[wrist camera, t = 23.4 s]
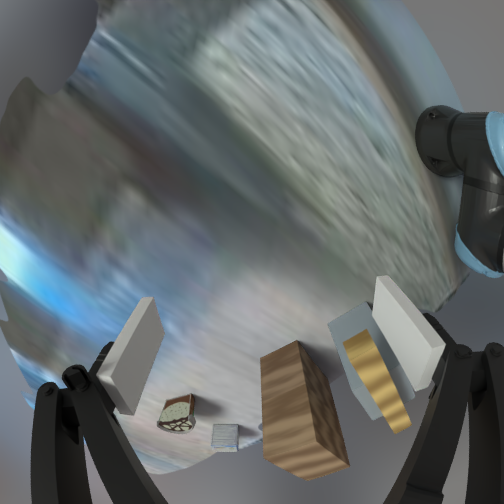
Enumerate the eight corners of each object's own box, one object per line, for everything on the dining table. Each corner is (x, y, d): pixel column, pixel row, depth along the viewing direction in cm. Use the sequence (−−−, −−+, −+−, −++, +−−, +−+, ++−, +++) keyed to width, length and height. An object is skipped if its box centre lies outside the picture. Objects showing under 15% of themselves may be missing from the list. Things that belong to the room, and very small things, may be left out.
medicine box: (215, 430, 77) (213, 451, 69) (212, 423, 76) (210, 445, 67) (239, 430, 77) (238, 452, 69) (237, 423, 75) (236, 445, 67)
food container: (175, 411, 73) (169, 437, 64) (162, 400, 71) (155, 426, 62) (207, 403, 71) (204, 431, 62) (195, 391, 69) (189, 419, 60)
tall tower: (260, 358, 64) (263, 458, 38) (296, 340, 62) (316, 441, 36) (295, 394, 70) (307, 480, 44) (327, 379, 68) (350, 466, 42)
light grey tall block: (327, 323, 60) (351, 391, 41) (365, 301, 58) (403, 362, 39) (349, 358, 65) (372, 420, 46) (383, 338, 63) (415, 397, 44)
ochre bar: (342, 342, 37) (349, 361, 33) (366, 328, 36) (376, 346, 32) (389, 420, 46) (394, 434, 42) (405, 411, 45) (411, 425, 42)
